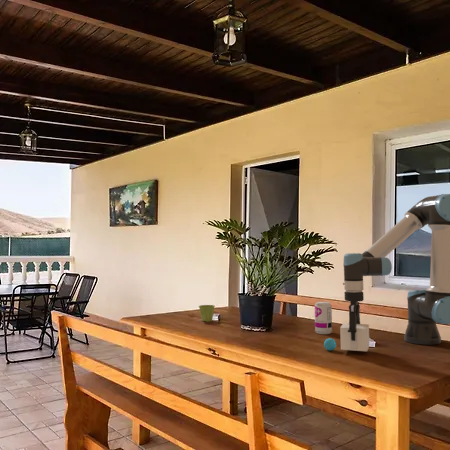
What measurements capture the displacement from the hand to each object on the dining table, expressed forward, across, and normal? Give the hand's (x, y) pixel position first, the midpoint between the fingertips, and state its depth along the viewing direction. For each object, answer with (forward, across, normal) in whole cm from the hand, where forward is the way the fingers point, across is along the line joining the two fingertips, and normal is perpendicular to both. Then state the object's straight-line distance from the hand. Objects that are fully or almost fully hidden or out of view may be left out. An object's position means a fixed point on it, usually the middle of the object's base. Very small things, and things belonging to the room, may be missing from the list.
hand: (355, 345), depth 191 cm
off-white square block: (+1, 0, 0) cm, 1 cm away
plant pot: (+2, -49, -88) cm, 101 cm away
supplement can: (+3, -36, -19) cm, 41 cm away
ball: (0, 0, -10) cm, 10 cm away
